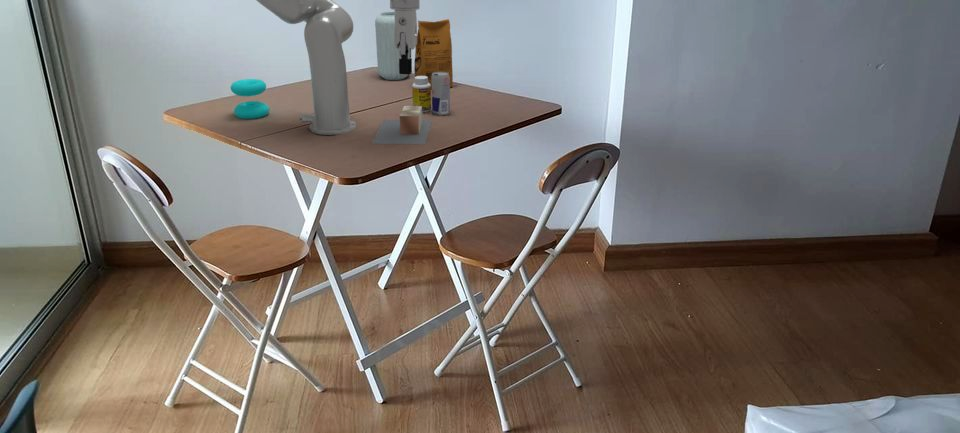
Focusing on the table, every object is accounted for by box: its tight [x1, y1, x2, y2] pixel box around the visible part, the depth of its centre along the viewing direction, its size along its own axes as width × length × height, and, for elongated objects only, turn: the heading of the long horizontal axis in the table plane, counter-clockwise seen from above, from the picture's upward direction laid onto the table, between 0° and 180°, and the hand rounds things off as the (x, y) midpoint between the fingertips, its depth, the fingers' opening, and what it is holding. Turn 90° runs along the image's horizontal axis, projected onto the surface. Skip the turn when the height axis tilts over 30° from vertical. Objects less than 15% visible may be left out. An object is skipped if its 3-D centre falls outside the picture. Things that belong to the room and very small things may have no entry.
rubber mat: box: [371, 119, 433, 145], centre depth 203 cm, size 14×22×1 cm, turn 178°
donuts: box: [230, 78, 270, 120], centre depth 216 cm, size 10×10×10 cm
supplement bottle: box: [411, 76, 432, 114], centre depth 221 cm, size 6×6×10 cm
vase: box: [374, 11, 410, 81], centre depth 257 cm, size 12×12×22 cm
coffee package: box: [413, 18, 454, 89], centre depth 245 cm, size 10×12×22 cm
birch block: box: [399, 105, 423, 134], centre depth 204 cm, size 5×5×10 cm
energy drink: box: [431, 72, 451, 117], centre depth 217 cm, size 5×5×12 cm
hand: (405, 73), depth 196 cm, fingers closed
